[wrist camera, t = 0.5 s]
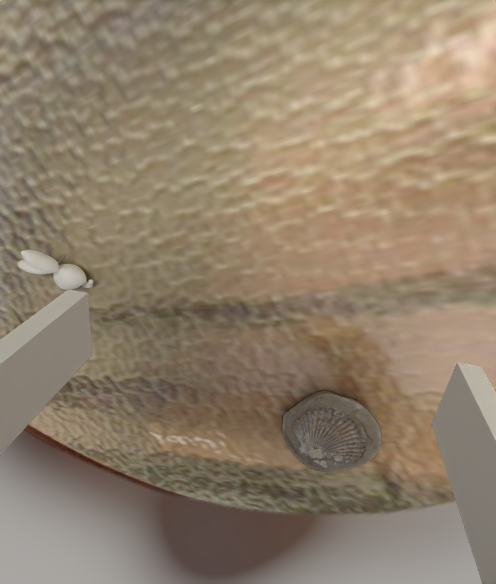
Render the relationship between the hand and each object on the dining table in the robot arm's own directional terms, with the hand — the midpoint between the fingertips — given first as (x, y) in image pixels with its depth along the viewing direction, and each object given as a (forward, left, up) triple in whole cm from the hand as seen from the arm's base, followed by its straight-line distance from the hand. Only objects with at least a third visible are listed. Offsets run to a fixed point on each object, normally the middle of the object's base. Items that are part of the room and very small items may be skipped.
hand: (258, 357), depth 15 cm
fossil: (+27, +5, -27) cm, 38 cm away
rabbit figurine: (+8, -26, -27) cm, 38 cm away
